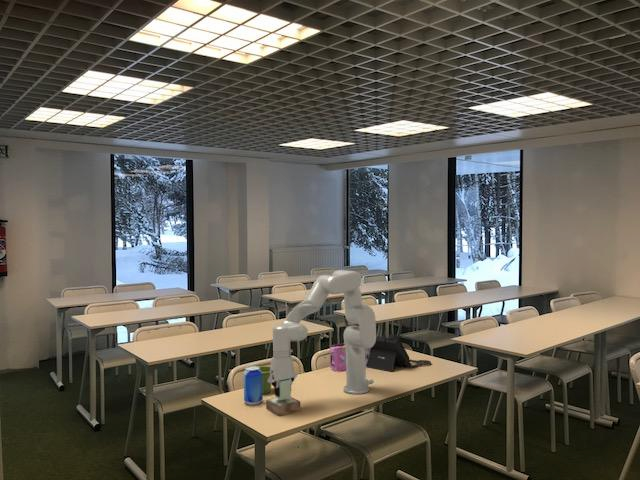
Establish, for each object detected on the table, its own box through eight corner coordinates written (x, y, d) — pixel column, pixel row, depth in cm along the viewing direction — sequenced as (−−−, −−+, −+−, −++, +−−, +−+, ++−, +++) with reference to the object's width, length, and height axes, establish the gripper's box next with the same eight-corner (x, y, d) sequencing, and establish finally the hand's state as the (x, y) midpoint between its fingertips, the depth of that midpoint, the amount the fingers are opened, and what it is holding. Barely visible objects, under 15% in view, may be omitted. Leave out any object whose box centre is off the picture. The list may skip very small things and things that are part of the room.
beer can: (247, 406, 231) (246, 371, 231) (242, 401, 239) (241, 367, 239) (264, 403, 235) (264, 369, 234) (259, 398, 242) (258, 364, 242)
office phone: (433, 363, 295) (433, 329, 295) (407, 375, 274) (407, 337, 273) (390, 356, 315) (390, 323, 314) (363, 366, 293) (362, 330, 293)
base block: (287, 403, 234) (287, 394, 234) (300, 410, 225) (300, 401, 225) (266, 408, 228) (266, 399, 228) (278, 416, 219) (278, 406, 219)
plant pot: (261, 397, 244) (261, 373, 244) (246, 392, 252) (245, 369, 252) (280, 391, 252) (279, 368, 252) (264, 386, 261) (264, 364, 260)
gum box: (334, 372, 283) (333, 348, 282) (327, 369, 290) (327, 345, 289) (370, 366, 294) (370, 342, 293) (363, 363, 301) (362, 340, 300)
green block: (285, 394, 230) (284, 377, 229) (290, 397, 226) (290, 379, 225) (275, 397, 227) (274, 379, 227) (281, 400, 223) (280, 381, 223)
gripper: (293, 349, 234) (295, 388, 234) (260, 355, 224) (261, 396, 224) (302, 352, 227) (303, 392, 228) (268, 358, 218) (270, 401, 218)
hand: (283, 394), depth 226 cm, fingers closed on green block, 5 cm apart
